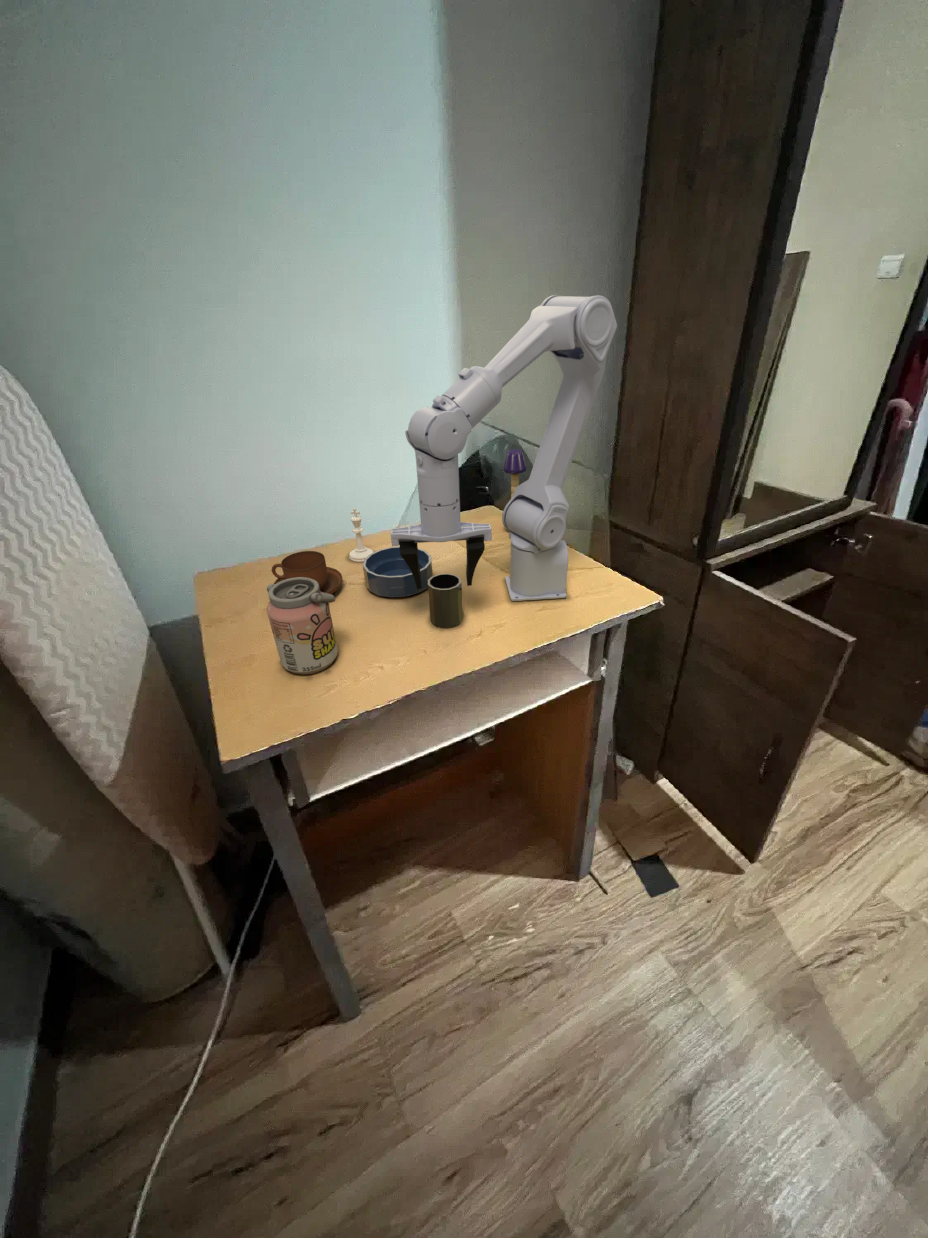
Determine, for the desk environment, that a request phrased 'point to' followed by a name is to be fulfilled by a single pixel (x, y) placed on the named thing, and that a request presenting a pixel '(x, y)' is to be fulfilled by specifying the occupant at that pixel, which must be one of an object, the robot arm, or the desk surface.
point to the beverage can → (302, 625)
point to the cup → (445, 600)
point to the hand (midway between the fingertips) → (444, 584)
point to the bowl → (395, 573)
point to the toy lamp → (514, 467)
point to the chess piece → (358, 540)
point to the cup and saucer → (309, 570)
